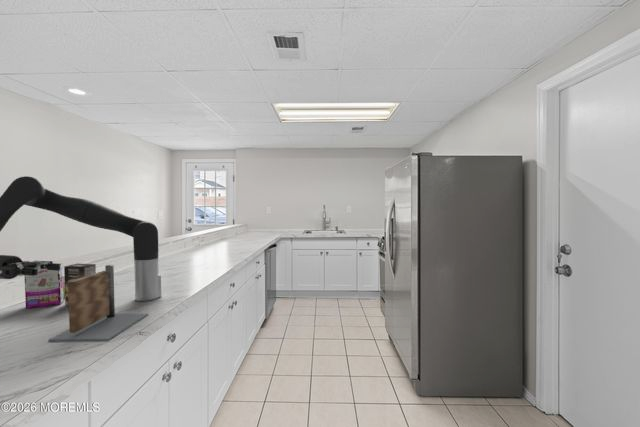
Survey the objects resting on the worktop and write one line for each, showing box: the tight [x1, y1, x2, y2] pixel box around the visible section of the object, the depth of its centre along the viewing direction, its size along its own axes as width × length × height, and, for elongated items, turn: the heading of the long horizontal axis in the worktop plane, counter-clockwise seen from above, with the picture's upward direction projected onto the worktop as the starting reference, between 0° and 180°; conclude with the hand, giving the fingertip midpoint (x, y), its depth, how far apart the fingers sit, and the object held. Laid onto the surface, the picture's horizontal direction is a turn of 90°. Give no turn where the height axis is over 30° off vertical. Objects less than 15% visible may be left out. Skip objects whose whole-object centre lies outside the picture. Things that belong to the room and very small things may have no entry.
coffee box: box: [63, 263, 97, 306], centre depth 131 cm, size 9×6×16 cm
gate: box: [67, 270, 110, 333], centre depth 104 cm, size 16×2×15 cm, turn 0°
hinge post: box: [104, 264, 116, 318], centre depth 114 cm, size 2×2×19 cm
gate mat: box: [47, 313, 149, 342], centre depth 106 cm, size 22×18×1 cm
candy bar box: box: [23, 263, 65, 310], centre depth 130 cm, size 11×5×16 cm, turn 117°
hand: (48, 269), depth 103 cm, fingers open, 8 cm apart
